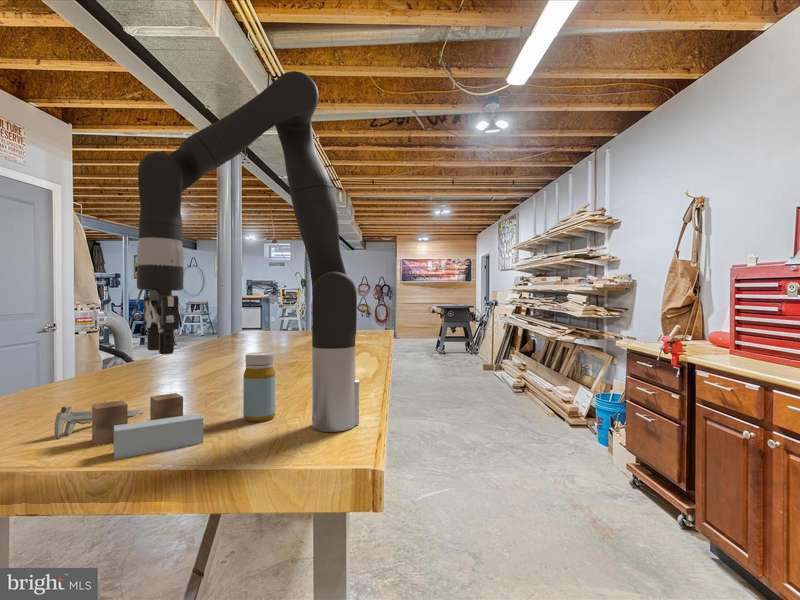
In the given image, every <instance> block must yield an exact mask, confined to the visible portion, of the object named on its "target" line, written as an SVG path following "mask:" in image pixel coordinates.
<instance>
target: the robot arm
mask: <svg viewBox="0 0 800 600" xmlns="http://www.w3.org/2000/svg"><path fill="white" fill-rule="evenodd" d="M319 96H320V95H319V90H318V86H317V85H316V82H315V81H314V80H313V79H312V77H310V76H309V75H307V74H306V73H305V72H303V71H297V70H290V71H287V72H284V73H283V74H281V75H280V76H278V78H276V79H275V80H274V81H273V82H272V83H270V84H269V85H267V87H266V88H264V89H263V91H261V92H260V93H258V94H257V95H256V96H254V97H253V98H252V99H250V100H249V101H247V102H246V103H244V104H242V105H241V106H240V107H238V108H237V109H235V110H234V111H232V112H231V113H229V114H227V115H225V116H224V117H222V118H220V119H219V120H217V121H215V122H214V123H211V124H210V125H208V126H206V127H204V128H202V129H200V130H198V131H196V132H195V133H193V134H191V135H189V136H188V137H187V138H185V139H184V140H183V141H182V142H181V144H180V146H179V147H178V148H177V149H175V150H174V151H172V152H171V153H169V154H168V153H166V152H161V151H153V152H152V151H151V152H150V153H148V154H145V155H144V156H143V157H142V158H141V160H140V161H139V164H138V168H137V181H138V182H137V184H138V185H137V186H138V195H139V196H138V197H139V209H140V211H139V218H138V244H137V250H136V253H137V254H136V288H137V289H138V290H141V291H148V292H149V295H147V296H144V297H143V301H144V302H143V306H144V308H143V323H142V324H143V328H144V327H145V330H146V333H147V335H146V338H147V340H146V341H147V343H146V346H147V350H149V351H158V352H159V355H172V354H173V353H174V351H175V350H174V349H175V347H174V345H175V333H176V331H177V330H179V327H180V324H179V322H180V321H179V315H180V314H179V300H180V299H179V296H178V295H173V293H172V292H174V291H176V292H177V291H178V292H179V291H182V290H183V289H184V264H185V263H184V257H185V256H184V247H183V219H182V218H183V217H182V210H181V209H182V196H183V195H182V193H183V192H184V191H186V190H187V189H189V188H190V187H191V186H193V184H195V183H197V181H199V180H201V178H202V177H204V176H205V175H206V174H209V173H210V172H212V171H213V170H215V169H217V168H219V167H221V166H222V165H224V164H226V163H227V162H230V161H231V160H233V158H236V157H237V156H238V155H240V154H241V153H242V152H243V151H244V150H245V151H246V149H247V148H249V147H250V145H251V144H253V143H254V142H255V141H256V140H257V139H258V138H259V137H261V136H262V135H263V134H264V133H266V132H268V131H269V130H270V129H272V128H273V127H275V129H276V132H277V135H278V138H279V141H280V142H279V143H280V144H281V148H282V152H283V157H284V164H285V165H284V166H285V171H286V177H287V183H288V188H289V193H290V194H289V195H290V198H291V199H290V200H291V205H292V209H293V213H294V216H295V220H296V224H297V228H298V230H299V234H300V237H301V239H302V242H303V245H304V247H305V250H306V254H307V260H308V264H309V271H310V272H309V273H310V278H311V280H310V281H311V302H312V303H311V306H312V307H311V309H312V311H311V312H312V313H311V315H312V321H311V323H312V325H311V342H312V343H311V362H312V363H311V371H312V372H311V378H312V379H311V390H312V393H311V394H312V395H311V409H312V410H311V413H312V414H311V416H312V417H311V425H312V429H314V430H315V431H319V432H325V433H329V432H330V433H334V432H335V433H337V432H343V431H347V430H351V429H353V428H354V427H355V426H357V425H360V382H359V380H358V379H356V336H357V318H358V317H357V315H358V314H357V313H358V311H357V310H358V309H357V305H358V299H357V298H358V296H357V288H356V285H355V283H354V281H353V280H352V279H351V278H350V277H349V275H347V271H346V269H345V268H346V267H345V265H344V261H343V257H342V253H341V248H340V229H339V226H340V225H339V216H338V209H337V208H338V207H337V201H336V197H335V193H334V188H333V184H332V180H331V177H330V176H329V174H328V172H327V169H326V167H325V165H324V164H323V162H322V160H321V159H320V156H319V154H318V152H317V149H316V146H315V140H314V133H313V125H312V118H313V115H314V113H315V111H316V109H317V106H318V104H319Z"/></svg>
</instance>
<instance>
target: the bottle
mask: <svg viewBox="0 0 800 600" xmlns="http://www.w3.org/2000/svg"><path fill="white" fill-rule="evenodd" d="M244 357H245V359H244V360H245V361H244V362H245V370H244V373H243V381H242V382H243V387H242V389H243V395H242V396H243V397H242V398H243V403H242V404H243V405H242V408H243V409H242V411H243V419H244V420H246V422H250V423H261V422H267V421H268V422H269V421H271V420H273V418H274V417H275V416H276V371H275V368H274V366H275V365H274V362H275V359H274V352H270V351H256V352H247V353H245V356H244Z"/></svg>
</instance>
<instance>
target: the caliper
mask: <svg viewBox="0 0 800 600" xmlns="http://www.w3.org/2000/svg"><path fill="white" fill-rule="evenodd" d="M72 408H73V406H61V409H60V412H57V413H56V415H55V420H54V438H56V439H62V434H63V433H64V434H63V436H64V437H70V436H71V435H72V432H73V431H74V429H75V426H76V424H81V425H85V424H92V410H73V409H72ZM144 412H145V411H142V410H141V409H140V408H139V409H138V408H135V409H128V417H136V416H139V415H141V414H145V413H144ZM138 414H139V415H138ZM135 415H136V416H135ZM64 427H65V428H64ZM63 431H64V432H63ZM69 435H70V436H69Z"/></svg>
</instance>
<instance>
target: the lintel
mask: <svg viewBox="0 0 800 600" xmlns="http://www.w3.org/2000/svg"><path fill="white" fill-rule="evenodd" d="M197 443H201V444H204V417H203V416H202V415H201V414H200V413H194V414H192V413H191V414H188V415H183V416H178V417H171V418H165V419H158V420H151V421H150V420H145V421H137V422H132V423H131V422H130V423H128V424H123V425H116V426H114V443H113V458H114V460H118V459H123V458H128V457H134V456H140V455H146V454H150V453H157V452H163V451H167V450H173V449H178V447H179V448H184V447H189V446H188V445H190V446H193V445H192V444H195V445H198V444H197ZM183 446H184V447H183Z"/></svg>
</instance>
